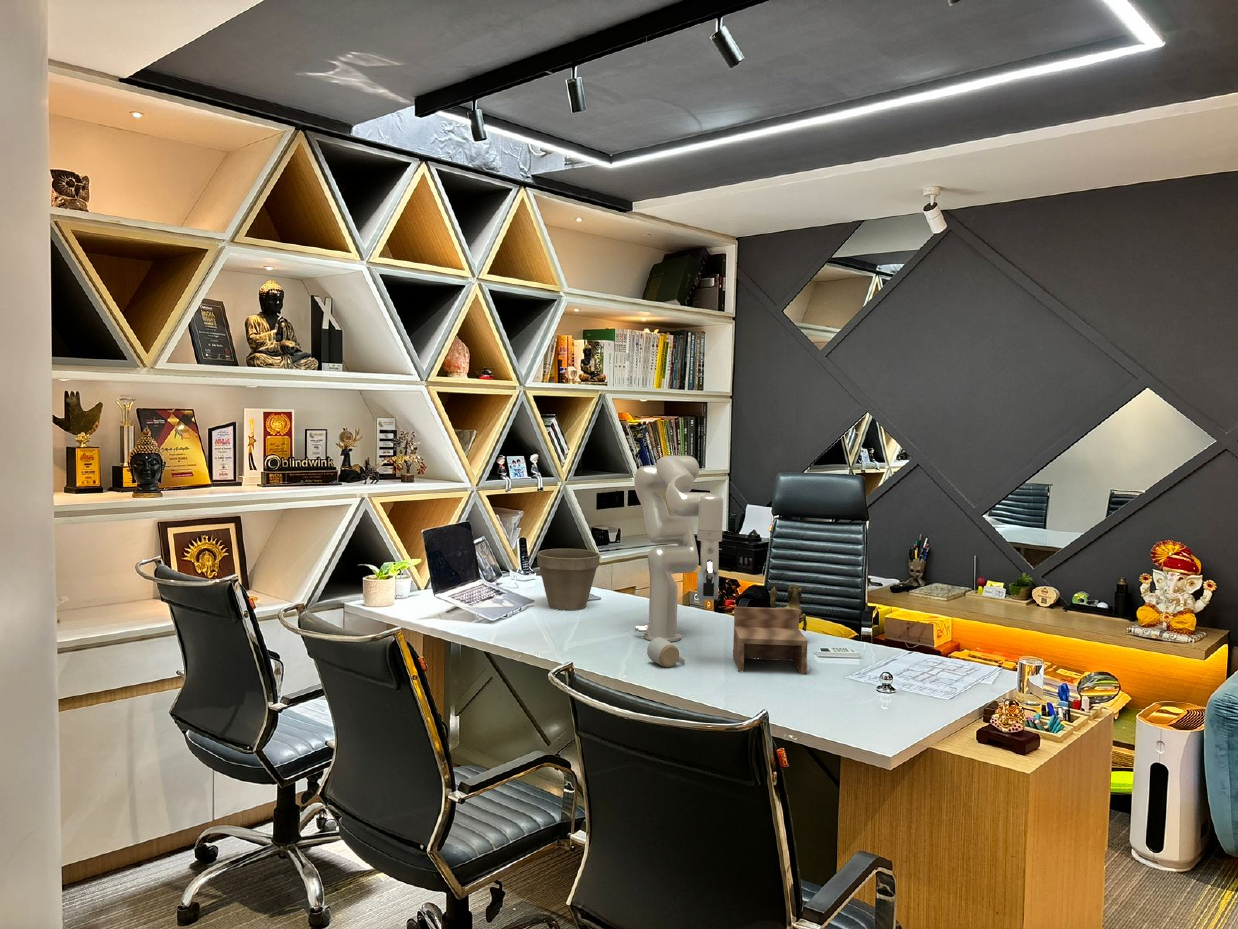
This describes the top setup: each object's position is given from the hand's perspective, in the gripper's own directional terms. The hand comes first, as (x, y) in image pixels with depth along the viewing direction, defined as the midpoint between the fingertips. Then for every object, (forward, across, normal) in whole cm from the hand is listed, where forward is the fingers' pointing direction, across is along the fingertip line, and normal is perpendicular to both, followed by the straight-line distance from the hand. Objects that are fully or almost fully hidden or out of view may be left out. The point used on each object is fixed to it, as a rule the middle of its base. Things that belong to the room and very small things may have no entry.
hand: (707, 593), depth 278 cm
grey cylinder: (+1, 0, 0) cm, 1 cm away
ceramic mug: (+22, -4, +12) cm, 25 cm away
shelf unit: (+21, -2, -19) cm, 29 cm away
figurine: (+22, +27, -27) cm, 44 cm away
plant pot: (+22, +78, +50) cm, 95 cm away
